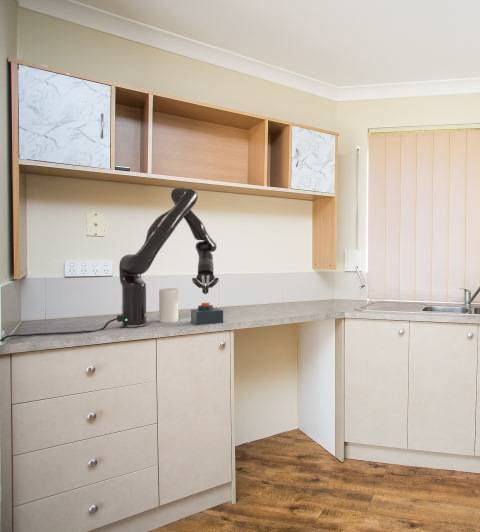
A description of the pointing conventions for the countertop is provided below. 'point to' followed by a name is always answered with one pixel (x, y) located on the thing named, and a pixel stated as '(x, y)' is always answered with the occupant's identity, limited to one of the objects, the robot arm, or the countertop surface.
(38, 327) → the countertop surface
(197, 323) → the grey button base
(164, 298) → the cup
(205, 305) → the button
